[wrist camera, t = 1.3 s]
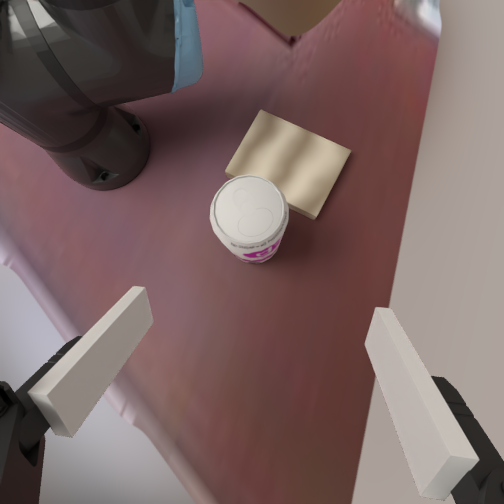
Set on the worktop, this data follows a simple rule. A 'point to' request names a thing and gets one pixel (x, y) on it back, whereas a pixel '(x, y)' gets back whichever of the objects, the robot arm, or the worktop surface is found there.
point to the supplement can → (250, 217)
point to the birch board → (290, 161)
